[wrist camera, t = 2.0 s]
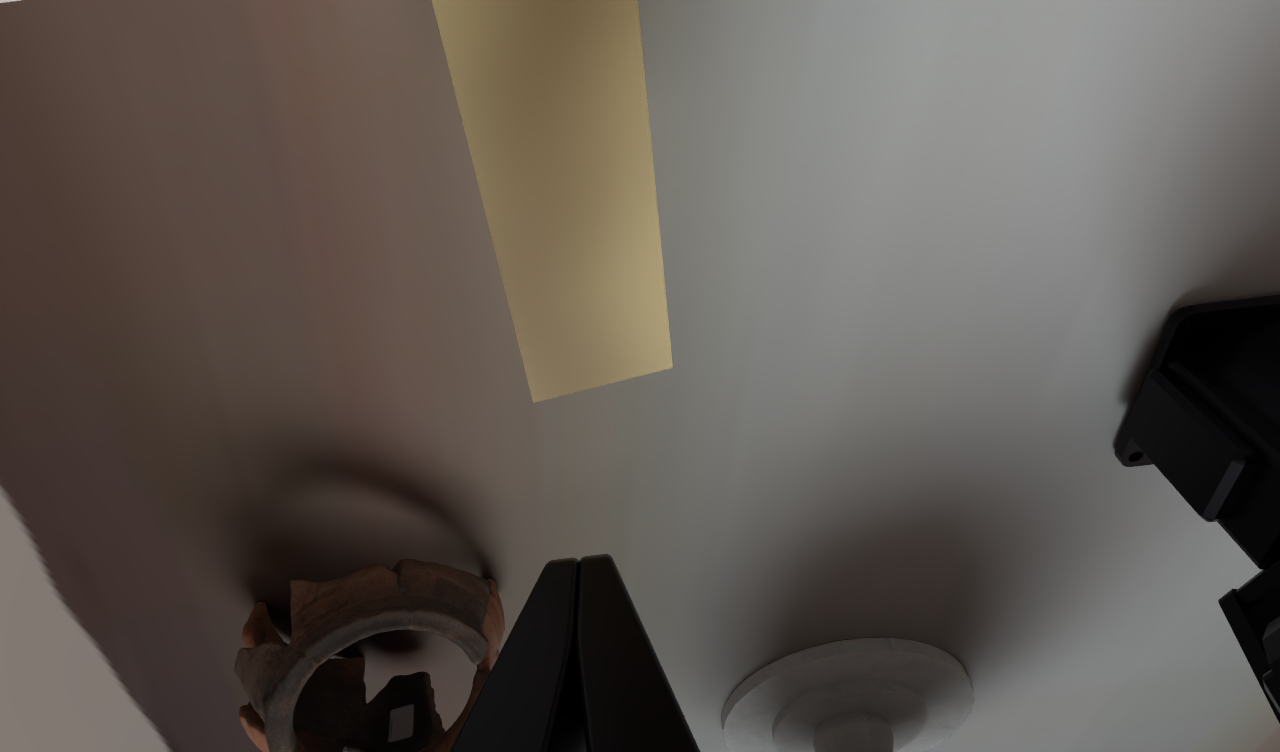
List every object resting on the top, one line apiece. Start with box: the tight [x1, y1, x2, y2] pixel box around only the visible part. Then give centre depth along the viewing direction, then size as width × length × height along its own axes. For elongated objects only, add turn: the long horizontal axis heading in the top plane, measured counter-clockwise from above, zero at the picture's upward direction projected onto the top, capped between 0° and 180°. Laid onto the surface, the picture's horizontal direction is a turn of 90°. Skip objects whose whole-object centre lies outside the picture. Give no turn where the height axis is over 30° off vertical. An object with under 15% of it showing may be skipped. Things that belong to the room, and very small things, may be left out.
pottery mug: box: [234, 559, 505, 752], centre depth 28 cm, size 12×9×8 cm
